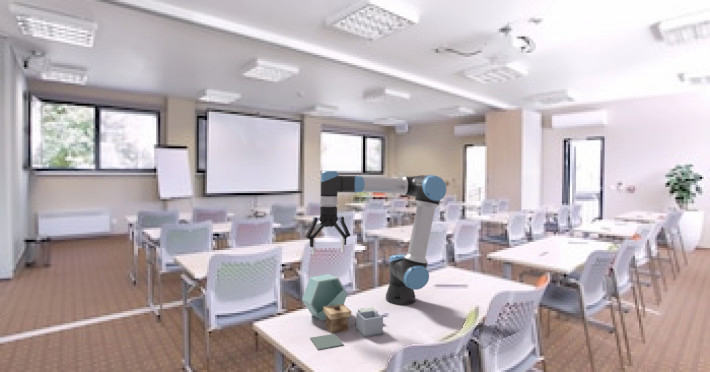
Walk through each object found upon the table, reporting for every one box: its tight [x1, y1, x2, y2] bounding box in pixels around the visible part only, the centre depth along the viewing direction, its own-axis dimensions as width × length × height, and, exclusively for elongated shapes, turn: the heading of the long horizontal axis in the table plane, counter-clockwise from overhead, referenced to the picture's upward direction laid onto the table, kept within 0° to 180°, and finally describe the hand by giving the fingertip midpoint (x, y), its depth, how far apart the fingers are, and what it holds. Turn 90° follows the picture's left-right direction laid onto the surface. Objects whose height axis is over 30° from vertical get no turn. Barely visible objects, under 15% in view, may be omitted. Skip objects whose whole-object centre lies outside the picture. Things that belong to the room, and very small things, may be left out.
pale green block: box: [357, 306, 379, 314], centre depth 159 cm, size 7×5×5 cm
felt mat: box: [309, 333, 344, 351], centre depth 138 cm, size 10×10×1 cm
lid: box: [323, 303, 352, 320], centre depth 151 cm, size 9×9×3 cm
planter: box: [301, 273, 348, 322], centre depth 164 cm, size 17×8×21 cm
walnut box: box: [325, 316, 349, 334], centre depth 151 cm, size 7×7×6 cm
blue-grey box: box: [355, 310, 384, 338], centre depth 148 cm, size 8×8×7 cm
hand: (328, 253), depth 163 cm, fingers open, 13 cm apart
